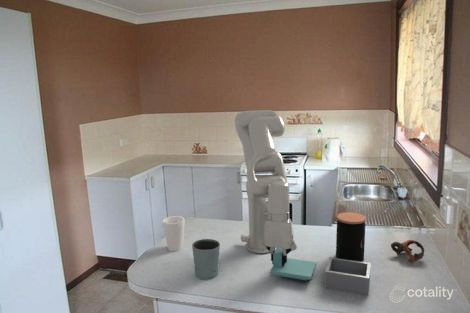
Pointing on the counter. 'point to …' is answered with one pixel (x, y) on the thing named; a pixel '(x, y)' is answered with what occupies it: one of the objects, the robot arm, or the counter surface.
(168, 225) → the foam cup
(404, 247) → the brown looped piece
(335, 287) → the tub
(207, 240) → the green tapered cup
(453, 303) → the counter surface
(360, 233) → the coffee jar
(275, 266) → the teal platform with post
